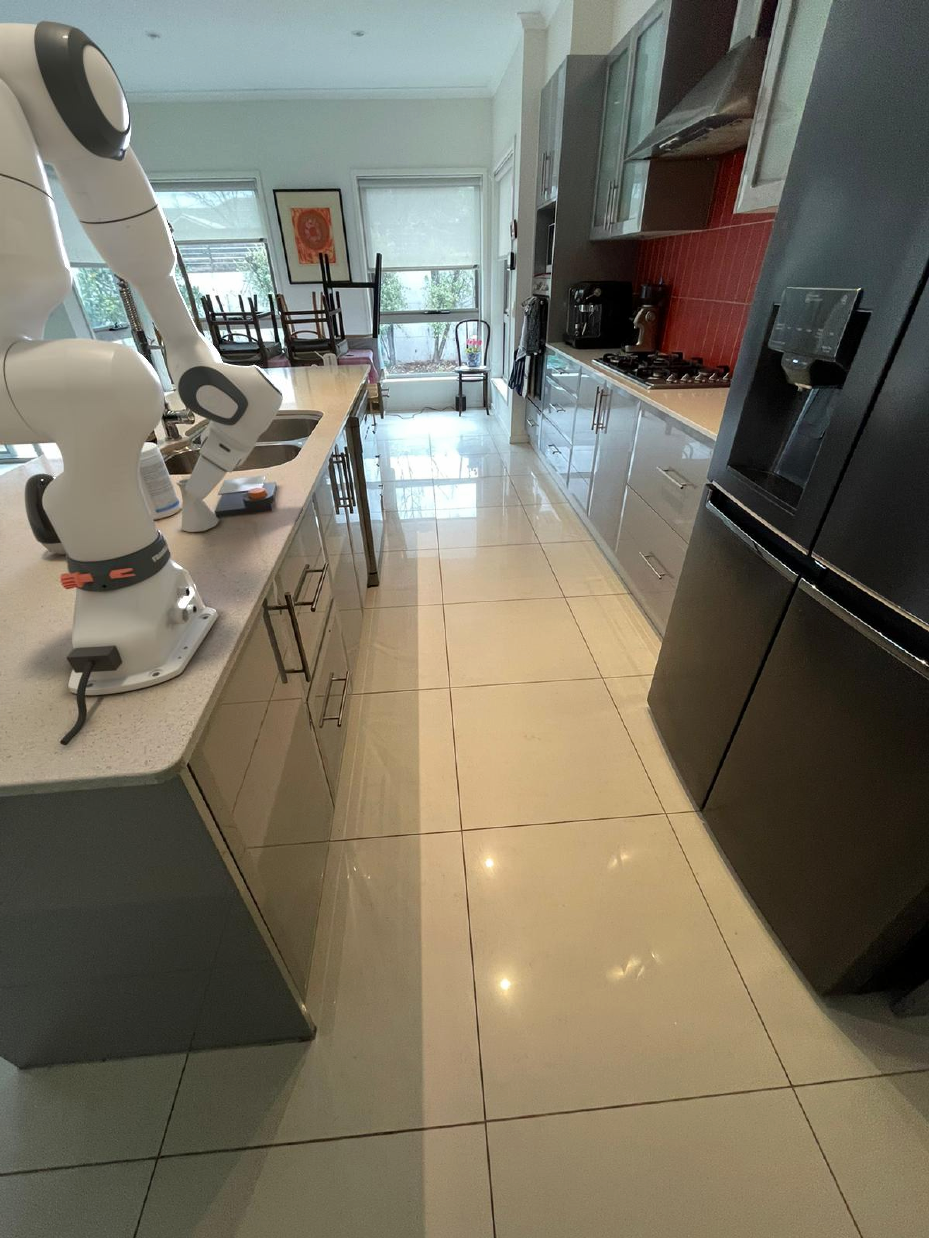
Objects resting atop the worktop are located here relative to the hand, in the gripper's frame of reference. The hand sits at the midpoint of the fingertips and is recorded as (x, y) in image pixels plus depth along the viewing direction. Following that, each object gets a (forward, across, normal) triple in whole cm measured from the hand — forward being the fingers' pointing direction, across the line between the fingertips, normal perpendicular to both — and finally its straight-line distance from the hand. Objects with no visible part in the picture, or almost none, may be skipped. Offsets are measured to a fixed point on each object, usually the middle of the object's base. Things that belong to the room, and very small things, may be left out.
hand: (190, 496), depth 107 cm
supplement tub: (+13, -11, -3) cm, 17 cm away
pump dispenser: (+21, +4, -11) cm, 24 cm away
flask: (+5, 0, +5) cm, 7 cm away
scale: (-1, -12, +11) cm, 16 cm away
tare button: (-6, -7, +11) cm, 14 cm away
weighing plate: (-3, -14, +8) cm, 17 cm away
